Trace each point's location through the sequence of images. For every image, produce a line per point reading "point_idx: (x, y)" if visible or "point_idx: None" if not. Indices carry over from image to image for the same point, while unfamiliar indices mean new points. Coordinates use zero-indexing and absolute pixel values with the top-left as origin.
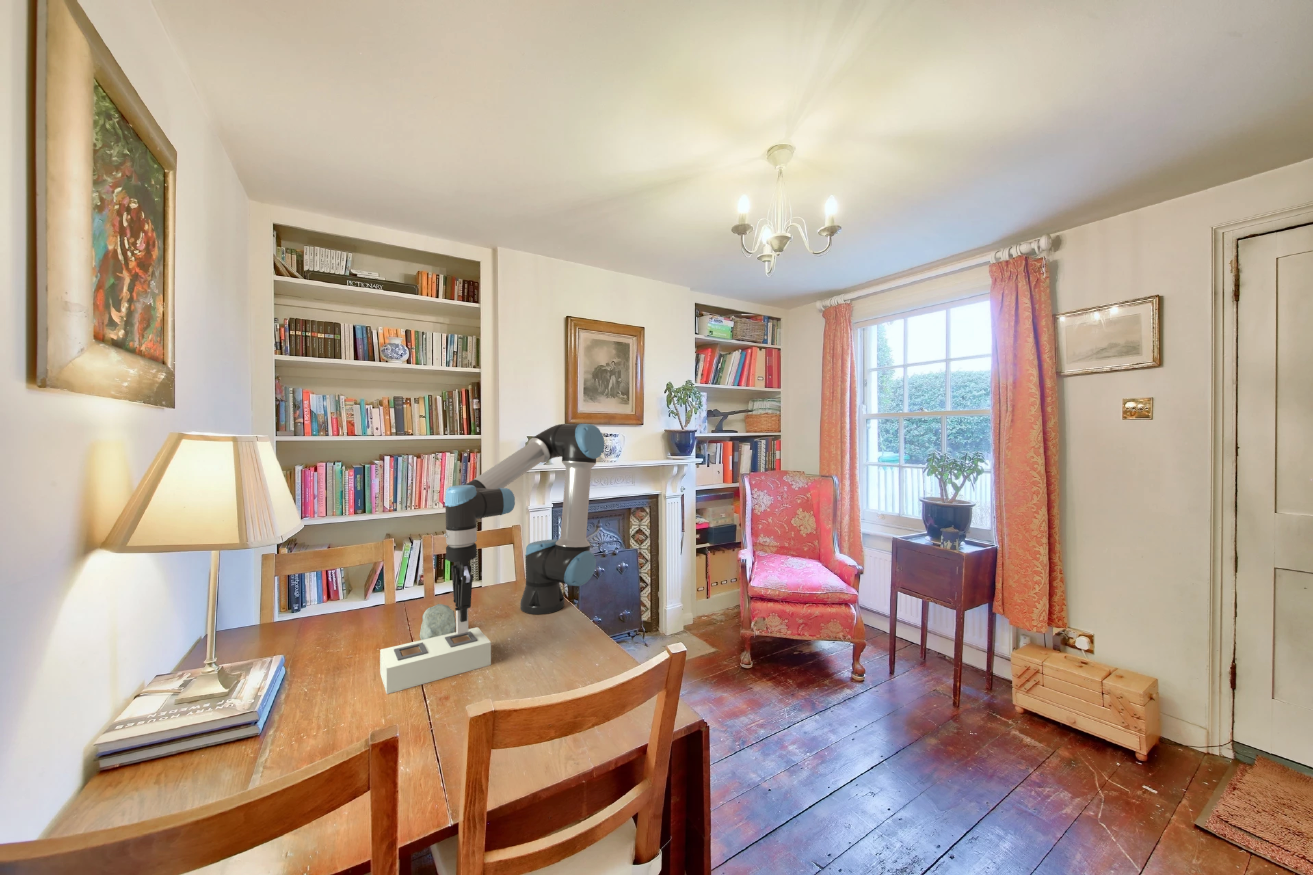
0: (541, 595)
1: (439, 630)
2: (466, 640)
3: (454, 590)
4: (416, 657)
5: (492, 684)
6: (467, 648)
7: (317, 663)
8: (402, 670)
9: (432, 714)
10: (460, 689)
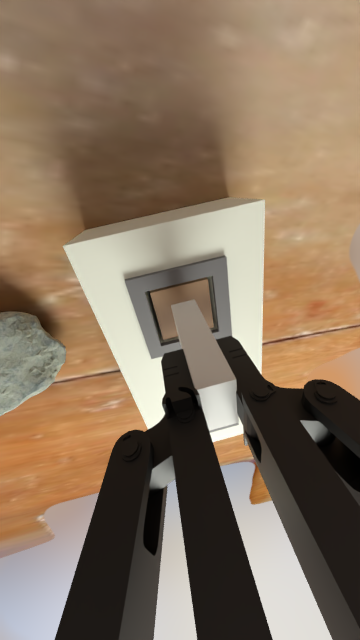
0: None
1: (22, 367)
2: (202, 294)
3: (154, 604)
4: None
5: (336, 206)
6: (262, 289)
7: (84, 481)
8: None
9: (349, 323)
10: (305, 281)
